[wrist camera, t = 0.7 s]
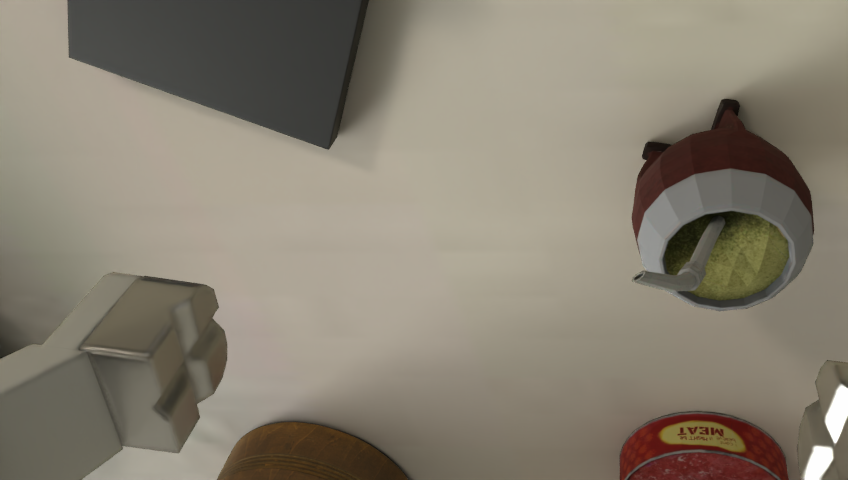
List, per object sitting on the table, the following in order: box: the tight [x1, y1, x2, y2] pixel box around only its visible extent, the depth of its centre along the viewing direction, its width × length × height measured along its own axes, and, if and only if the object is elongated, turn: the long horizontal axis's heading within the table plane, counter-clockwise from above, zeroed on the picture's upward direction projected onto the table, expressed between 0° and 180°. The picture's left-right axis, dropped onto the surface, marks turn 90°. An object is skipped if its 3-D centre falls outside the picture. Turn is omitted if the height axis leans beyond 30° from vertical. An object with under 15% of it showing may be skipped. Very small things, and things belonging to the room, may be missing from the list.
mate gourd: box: [632, 99, 814, 311], centre depth 31 cm, size 8×8×15 cm
